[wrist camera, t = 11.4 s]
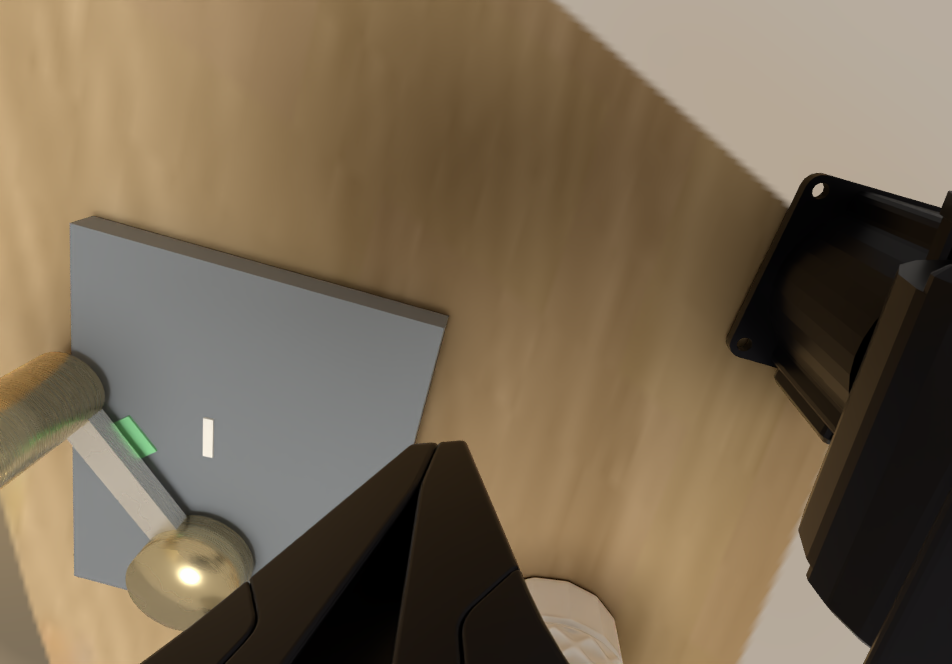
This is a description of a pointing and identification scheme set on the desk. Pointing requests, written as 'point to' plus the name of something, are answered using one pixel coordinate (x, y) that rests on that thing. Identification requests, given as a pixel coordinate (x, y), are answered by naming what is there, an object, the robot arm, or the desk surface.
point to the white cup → (576, 622)
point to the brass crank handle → (121, 489)
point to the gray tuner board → (236, 387)
